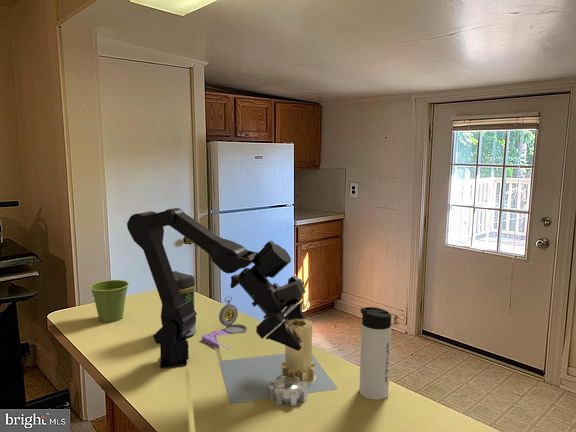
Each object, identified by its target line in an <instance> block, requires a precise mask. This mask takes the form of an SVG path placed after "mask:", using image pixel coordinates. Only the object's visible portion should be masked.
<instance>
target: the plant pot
mask: <svg viewBox="0 0 576 432" xmlns="http://www.w3.org/2000/svg"><path fill="white" fill-rule="evenodd" d="M129 286H130V282H129V281H126V280H123V279H108V280H102V281H101V280H100V281H97V282H95V283H92V284H90V285H89V290H90V291H91V293H92V296H93V298H94V303H95V308H96V312H97V316H98V321H100V322H105V323H111V322H112V323H113V322H117V321H118V320H122V319H123V318H124V311H125V303H126V296H127V292H128V287H129Z"/></svg>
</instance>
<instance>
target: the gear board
mask: <svg viewBox="0 0 576 432" xmlns="http://www.w3.org/2000/svg"><path fill="white" fill-rule="evenodd" d="M284 360H285V353H281V354H280V353H278V354H268V355H260V356H254V357H253V356H251V357H241V358H233V359H225V360H219V361H218V363H219V367H220V369H221V374H222V378H223V382H224V385H225V388H226V389H225V390H226V393H227V396H228V400H229V404H230V405H233V404H239V403H247V402H254V401H261V400H262V401H263V400H267V399H270V398H269V386H271V381H272V380H273V379H275V380H278V379H281V376H282V362H283V361H284ZM311 362H314V363H315V379H314V381H313V382H311V381H308V382H307V384H308V385H307V394H312V393H319V392H328V391H334V390H338V389H339V388H338V387H337V385H336V384H335V383H334V381H333V380H332V379H331V377H330V376H329V375H328V374H327V372H326V371H325V370H324V368H323V367H322V365H321V364H320V363H319V361H318V360H317V359H316V357H315V356H314V354H312V356H311Z"/></svg>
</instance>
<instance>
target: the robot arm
mask: <svg viewBox="0 0 576 432" xmlns="http://www.w3.org/2000/svg"><path fill="white" fill-rule="evenodd" d="M126 226H127V230H128V233H129V234H130V236H131V239H132V240H133V242H134V243H136V244H137V246H138V247H139V248H141V249H142V251H143V253H144V255H145V259H146V262H147V265H148V268H149V270H150V274H151V276H152V279H153V281H154V284H155V288H156V290H157V293H158V296H159V298H160V301H161V311H160V312H161V313H160V321H161V327H160V328H159V329H158V330H157V331H156V332H155V333H154V334H153V339H154V342H155V344H156V345H157V344H158V345H159V346H160V347H159V349H160V350H159V351H160V353H159V354H160V356H159V357H160V358H159V368H162V369H164V368H172V367H182V366H186V365H188V360H189V358H190V357H189V340H187V338H186V336H185V335H187V334H189V333H190V330H191V328H192V327H193V326H194V325H195V322H197V317H196V316H197V315H198V313H197V312H196V310H195V306H194V307H193V302H192V301H191V300H190V301H188V302H187V301H185V300H184V299H183V298H182V297H181V295H180V292H179V289H178V286H177V283H176V280H175V278H174V275H173V270H172V266H171V264H170V261H169V257H168V256H167V252H166V249H165V246H164V244H163V243H164V242H163V241H164V234H165V230H164V227H167V226H169V227H171V228H172V229H174V230H175V231H177V233H179V234H181V235H182V236H184V237H185V238H186V239H188V240H189V241H191V242H192V243H193V244H195V245H197V246H198V247H199V248H201V250H203V251H205V253H207V254H208V255H209V257H210V259H211V261H212V262H213V263H214V264H215V266H217V267H218V269H220V270H221V271H222V272H224V273H225V274H234V273H236V272H237V271H240V270H241V269H243V270H241V271H240V272H239V273H238V274H234V275H231V276H230V280H231V281H230V288H231V289H234V288H235V287H237V286H240V287H241V288H242V289H243V290H244V292H245V293H247V295H248V297H250V298H251V300H253V301H252V303H251V305H252V306H253V307H254V308H255V307H256V306H257V307H258V308H259V309H260V310H261V311H262V312H263V314H264V316H263V319H262V321H261V322H260V323H259V324H258V325H256V327H255V330H256V332H255V333H256V334H257V335H258V336H259V337H260V339H261V340H262V339H264V338H265V340H271V341H274V342H276V343H279V344H281V345H284V346H285V345H286V346H288V347H290V348H292V349H295V350H297V351H299V350H300V349H301V346H300V344H299V342H298V341H297V339H296V338H295V337H294V335H293V334H292V332H291V331H290V329H289V328H288V320H291V319H306V317H305V315H304V312H303V303H304V301H303V298H304V297H303V294H305V293H306V290H305V287H304V284H305V282H304V281H302V279H301V278H299V277H298V276H297V275H294V276H290V277H289V278H288V279H287V283H285V284H284V285H282V286H280V284H278V283H276V282H274V283H273V284H272V282H271V281H270V280H269V279H268V278H275V277H276V276H277V275H278V274H279V273H280V272H282V271H283V270H284V269H285V267H286V266H288V265H289V264H290V263H291V262H292V259H291V256H290V254H289V253H288V252H287V250H286V248H284V247H282V246H280V245H279V244H276V243H275V242H274V241H273V240H269V241H267V242H266V243H265V245H264V246H263V247H262V248H261V249H260V251H258V252H257V251H256V252H255V251H252V250H248V249H247V248H246V247H245V246H243V245H242V244H239V243H237V242H235V241H233V240H229V239H226V238H222V237H220V236H219V235H217V234H216V233H214V232H213V231H212V230H210V229H209V228H207V227H205V226H204V225H203V224H201V223H200V222H198V221H197V220H196V219H194V218H193V217H192V216H189V214H188V213H185V211H184V210H183V209H181V208H179V207H173V208H168V209H166V210H164V211H159V212H155V211H152V210H151V211H145V212H140V213H139V212H138V213H134V214H132V215H130V216H129V218H128V220H127V223H126ZM250 265H252V267H251V268H250V267H249V266H250Z"/></svg>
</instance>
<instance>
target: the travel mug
mask: <svg viewBox="0 0 576 432" xmlns="http://www.w3.org/2000/svg"><path fill="white" fill-rule="evenodd" d="M360 314H362V316H361V319H362V320H361V330H360V331H361V337H360V361H359V362H360V363H359V364H360V365H359V366H360V367H359V389H358V390H359V393H360V395H361V396H362V397H365V398H367V399H370V400H384V399H386V401H387V400H389V385H390V365H391V363H390V361H391V342H392V341H391V340H392V314H391V313H389V311H387V310H385V309H383V308H379V307H374V306H367V307H366V306H365V307H361V308H360Z"/></svg>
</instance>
